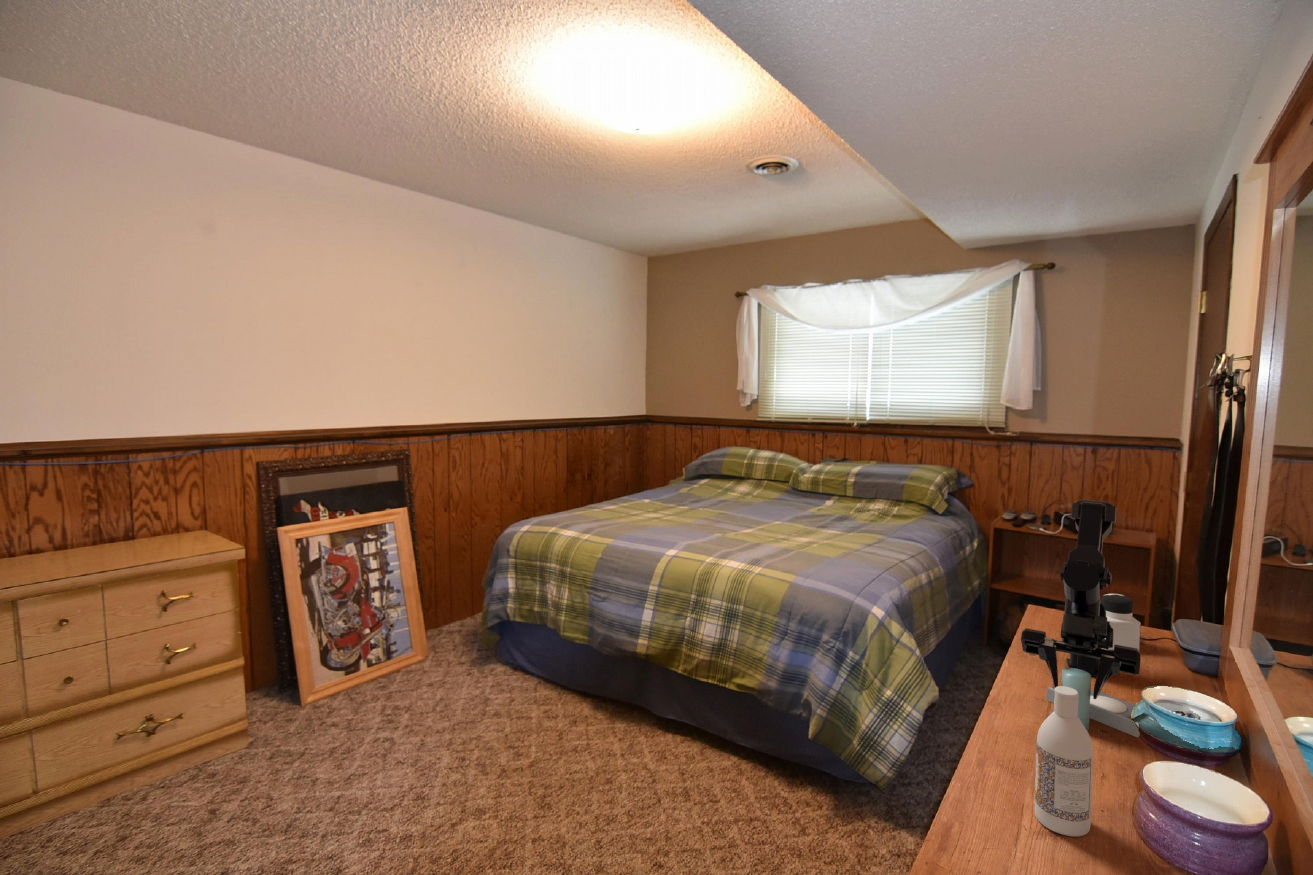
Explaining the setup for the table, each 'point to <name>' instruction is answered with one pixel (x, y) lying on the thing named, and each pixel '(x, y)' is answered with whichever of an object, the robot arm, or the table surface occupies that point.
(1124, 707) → the mat
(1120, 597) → the medicine bottle
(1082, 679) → the teal canister
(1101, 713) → the low wall
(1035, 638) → the robot arm
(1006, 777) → the table surface
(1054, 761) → the bath foam
